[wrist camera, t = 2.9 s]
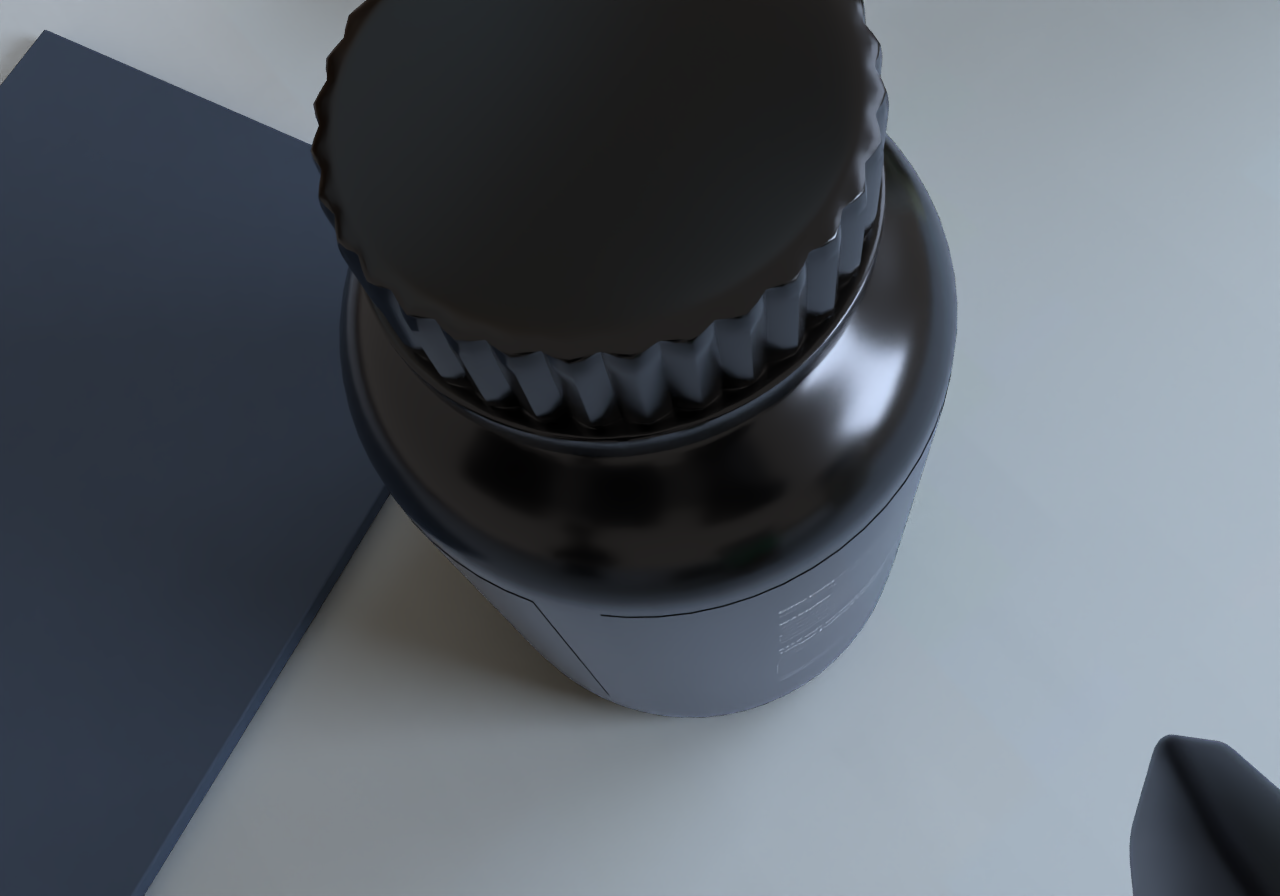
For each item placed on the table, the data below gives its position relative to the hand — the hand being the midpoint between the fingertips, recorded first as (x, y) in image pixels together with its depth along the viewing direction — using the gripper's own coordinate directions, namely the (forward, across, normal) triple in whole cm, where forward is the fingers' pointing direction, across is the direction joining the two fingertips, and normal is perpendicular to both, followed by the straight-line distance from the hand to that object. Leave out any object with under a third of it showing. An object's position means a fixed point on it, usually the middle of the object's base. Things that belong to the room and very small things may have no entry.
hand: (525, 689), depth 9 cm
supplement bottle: (+11, 0, +5) cm, 12 cm away
